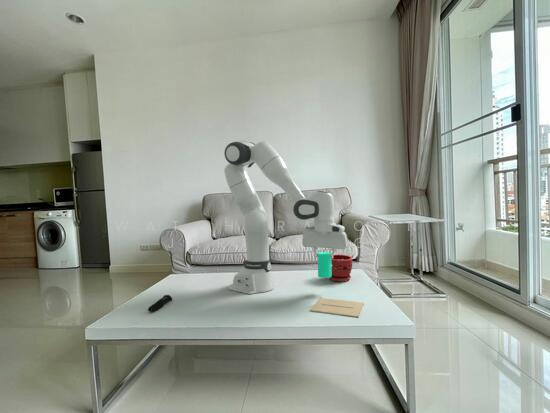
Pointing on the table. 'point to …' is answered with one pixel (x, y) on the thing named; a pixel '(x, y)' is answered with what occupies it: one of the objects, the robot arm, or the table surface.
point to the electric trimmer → (160, 303)
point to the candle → (324, 264)
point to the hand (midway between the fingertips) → (324, 257)
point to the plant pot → (341, 268)
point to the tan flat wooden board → (338, 307)
